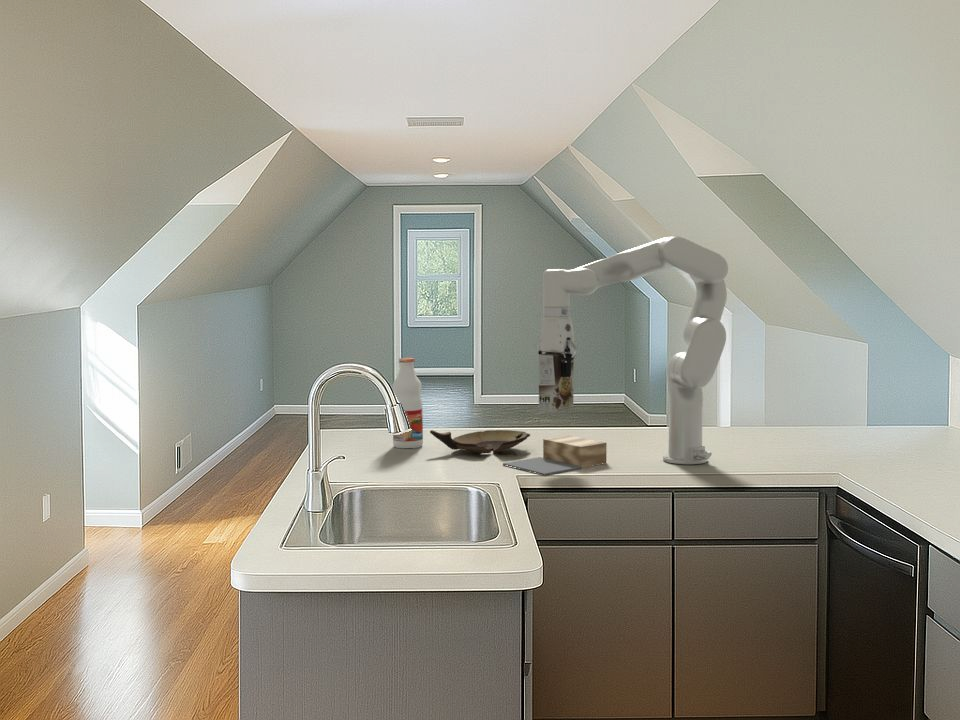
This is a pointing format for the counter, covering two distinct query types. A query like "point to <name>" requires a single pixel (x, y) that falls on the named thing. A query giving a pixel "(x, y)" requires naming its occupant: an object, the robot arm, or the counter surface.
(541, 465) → the rubber mat
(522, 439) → the brown shallow curved piece
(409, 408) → the fruit juice
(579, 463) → the oak step
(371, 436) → the counter surface
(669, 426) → the robot arm
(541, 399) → the coffee box
